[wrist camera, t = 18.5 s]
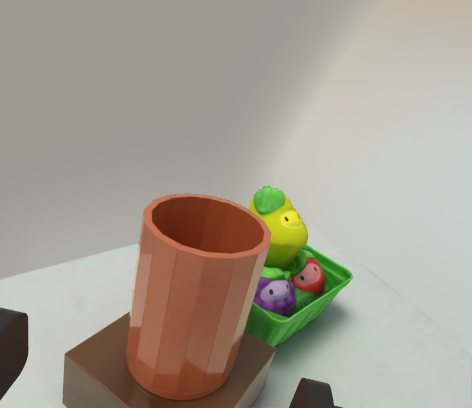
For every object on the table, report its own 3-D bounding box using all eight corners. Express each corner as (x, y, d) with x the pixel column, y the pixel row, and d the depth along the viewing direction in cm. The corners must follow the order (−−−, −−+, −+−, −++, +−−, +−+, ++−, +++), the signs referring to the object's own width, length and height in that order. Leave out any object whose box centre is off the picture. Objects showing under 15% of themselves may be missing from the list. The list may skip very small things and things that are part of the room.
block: (62, 402, 22) (64, 353, 20) (164, 324, 29) (171, 284, 28) (179, 512, 18) (193, 463, 16) (261, 391, 25) (276, 349, 24)
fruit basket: (263, 379, 26) (310, 246, 22) (186, 306, 31) (211, 187, 27) (338, 318, 35) (383, 213, 30) (267, 269, 40) (297, 172, 35)
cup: (100, 354, 21) (114, 212, 17) (174, 301, 26) (196, 185, 22) (189, 425, 18) (227, 276, 14) (251, 350, 23) (291, 228, 20)
